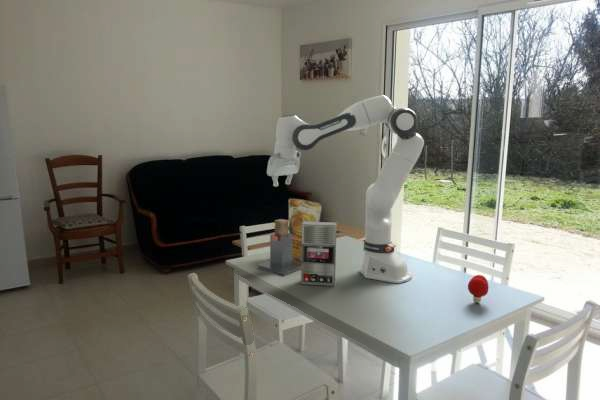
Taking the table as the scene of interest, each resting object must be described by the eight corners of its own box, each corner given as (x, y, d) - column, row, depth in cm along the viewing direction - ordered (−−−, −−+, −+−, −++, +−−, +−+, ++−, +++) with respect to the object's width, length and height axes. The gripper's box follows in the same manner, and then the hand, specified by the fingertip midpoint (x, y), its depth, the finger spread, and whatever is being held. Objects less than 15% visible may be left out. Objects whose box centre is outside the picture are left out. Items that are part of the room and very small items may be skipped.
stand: (304, 267, 208) (305, 234, 205) (285, 275, 197) (285, 240, 194) (277, 260, 217) (278, 228, 215) (257, 268, 207) (257, 234, 204)
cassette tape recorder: (300, 285, 187) (301, 224, 182) (302, 279, 193) (303, 221, 188) (334, 286, 185) (336, 226, 180) (335, 281, 191) (337, 222, 186)
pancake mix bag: (292, 252, 231) (292, 197, 226) (322, 260, 219) (323, 202, 213) (283, 255, 226) (283, 198, 221) (312, 263, 214) (313, 204, 209)
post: (288, 263, 207) (288, 220, 204) (281, 266, 204) (282, 222, 200) (280, 261, 210) (280, 218, 206) (274, 264, 206) (274, 220, 203)
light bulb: (484, 309, 165) (486, 282, 163) (464, 304, 169) (466, 278, 167) (489, 300, 173) (491, 275, 171) (469, 296, 176) (471, 271, 175)
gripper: (277, 154, 186) (274, 188, 188) (302, 153, 203) (300, 184, 206) (264, 152, 189) (261, 186, 191) (290, 151, 206) (288, 182, 209)
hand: (281, 185), depth 199 cm, fingers open, 8 cm apart
